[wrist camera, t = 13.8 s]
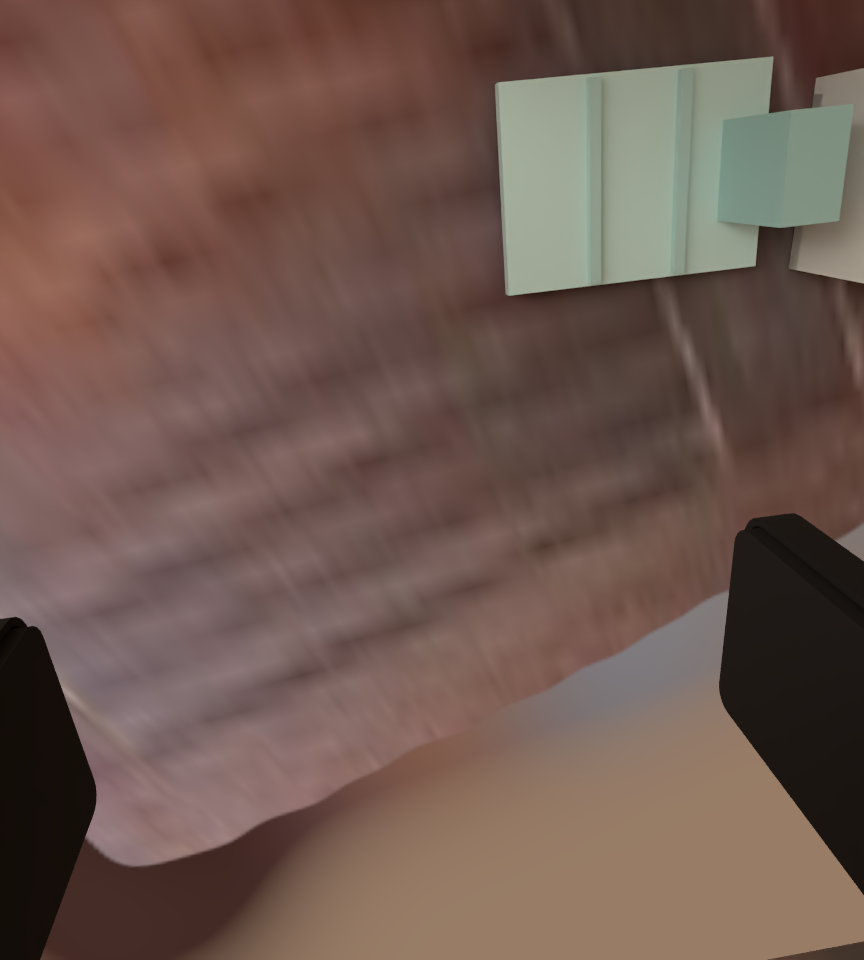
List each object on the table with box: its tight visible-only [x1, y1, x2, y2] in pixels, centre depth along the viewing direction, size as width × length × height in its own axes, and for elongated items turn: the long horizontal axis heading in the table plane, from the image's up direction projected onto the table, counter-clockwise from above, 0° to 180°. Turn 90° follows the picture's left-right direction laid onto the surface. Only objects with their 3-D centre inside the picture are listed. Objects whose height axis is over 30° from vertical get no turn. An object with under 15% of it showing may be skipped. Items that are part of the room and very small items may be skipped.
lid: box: [495, 57, 854, 296], centre depth 36 cm, size 10×15×8 cm
